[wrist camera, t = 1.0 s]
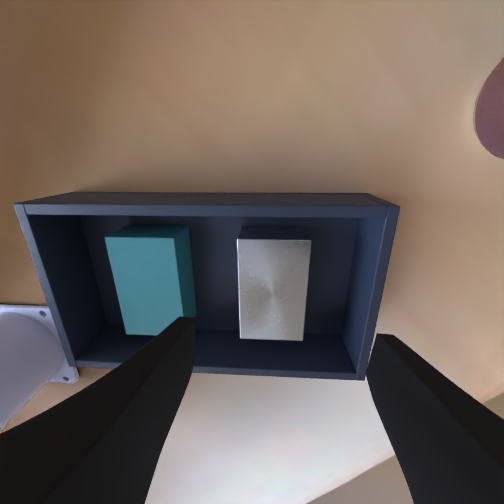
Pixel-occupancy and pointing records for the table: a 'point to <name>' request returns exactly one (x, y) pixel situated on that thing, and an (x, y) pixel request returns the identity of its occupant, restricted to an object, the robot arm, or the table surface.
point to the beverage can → (491, 112)
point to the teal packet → (152, 276)
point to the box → (217, 275)
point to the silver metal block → (273, 281)
